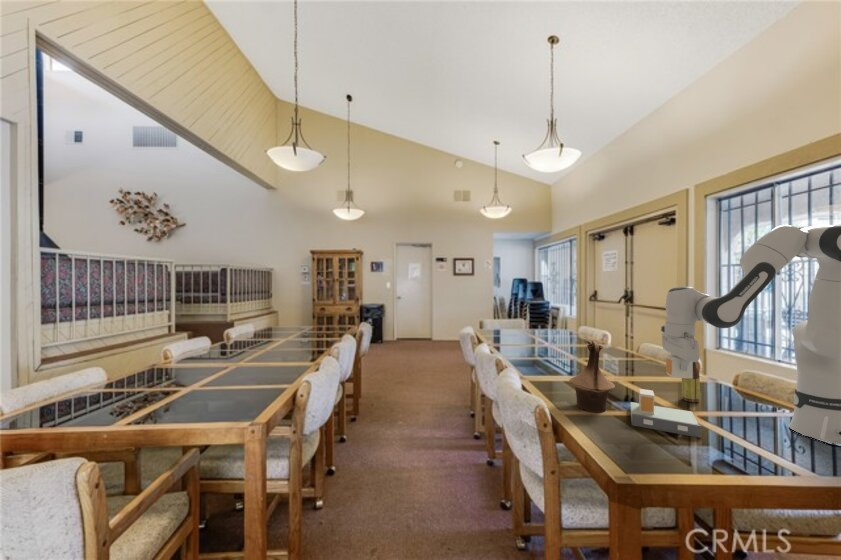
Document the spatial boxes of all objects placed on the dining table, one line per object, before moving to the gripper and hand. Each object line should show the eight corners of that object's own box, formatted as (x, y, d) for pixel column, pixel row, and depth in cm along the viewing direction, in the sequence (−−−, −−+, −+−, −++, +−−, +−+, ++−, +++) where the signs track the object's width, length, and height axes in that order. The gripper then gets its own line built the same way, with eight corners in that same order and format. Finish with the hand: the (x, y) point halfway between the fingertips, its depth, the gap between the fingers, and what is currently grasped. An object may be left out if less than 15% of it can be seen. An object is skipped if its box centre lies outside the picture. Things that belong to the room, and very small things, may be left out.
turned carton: (692, 378, 128) (692, 359, 128) (670, 377, 130) (671, 358, 129) (686, 375, 132) (686, 356, 132) (665, 373, 134) (665, 355, 134)
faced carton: (652, 408, 138) (652, 390, 138) (654, 414, 132) (654, 396, 132) (638, 406, 140) (639, 388, 140) (639, 412, 134) (640, 393, 134)
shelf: (691, 419, 135) (691, 408, 135) (700, 438, 120) (701, 426, 120) (630, 409, 145) (630, 399, 145) (631, 425, 130) (632, 414, 130)
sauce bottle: (693, 398, 157) (694, 353, 157) (703, 403, 151) (704, 357, 151) (677, 397, 158) (678, 353, 157) (686, 403, 152) (687, 356, 151)
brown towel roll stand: (621, 418, 136) (622, 345, 135) (573, 414, 139) (574, 343, 139) (607, 401, 153) (608, 336, 152) (565, 398, 157) (565, 335, 156)
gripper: (705, 336, 120) (704, 377, 120) (677, 326, 140) (676, 361, 140) (683, 335, 121) (683, 375, 122) (658, 326, 141) (658, 361, 141)
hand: (679, 368), depth 131 cm, fingers closed on turned carton, 4 cm apart
